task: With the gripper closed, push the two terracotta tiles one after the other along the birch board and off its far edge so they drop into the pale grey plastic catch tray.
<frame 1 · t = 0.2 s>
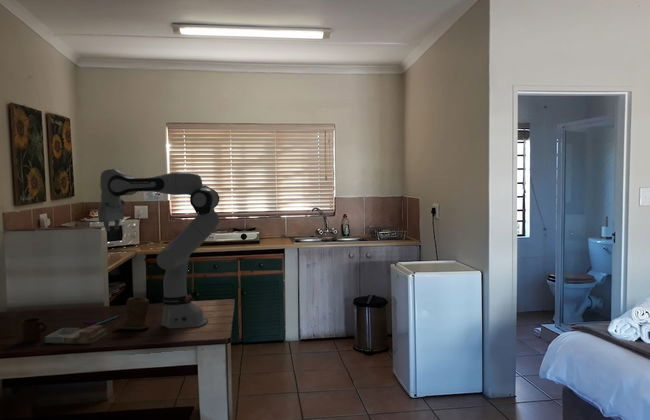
hand: (112, 230, 253), 47 cm above the table, tool pointing down, fingers open, 8 cm apart
tile 2: (87, 335, 229), point 2 cm above the table, touching board
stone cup: (134, 328, 248), on the table
board: (86, 338, 232), on the table
tile 1: (94, 331, 235), point 2 cm above the table, touching board
tray: (62, 338, 233), on the table
mug: (36, 341, 231), on the table
squeegee: (91, 326, 257), on the table
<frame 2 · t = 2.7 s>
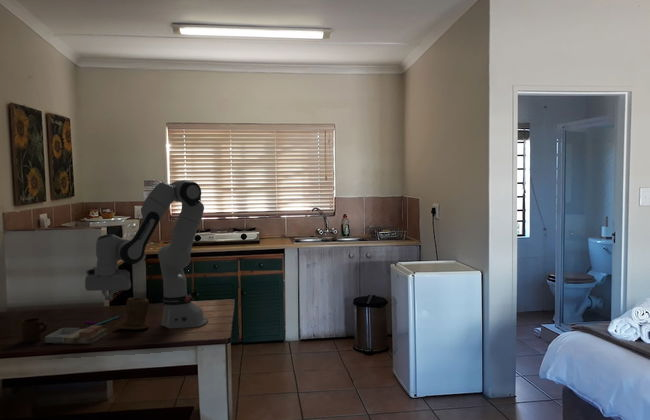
hand: (108, 299, 234), 17 cm above the table, tool pointing down, fingers closed
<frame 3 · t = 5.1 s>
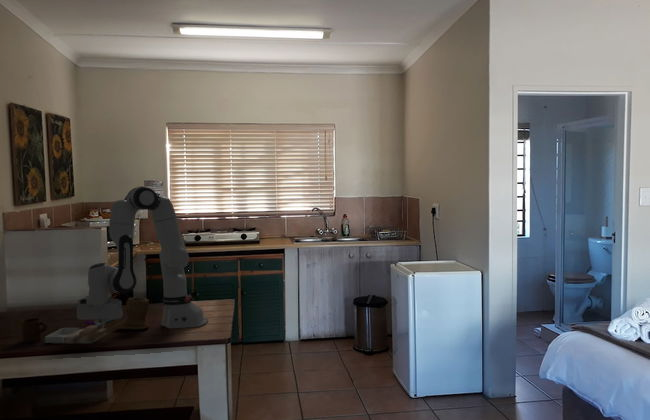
hand: (100, 328, 235), 4 cm above the table, tool pointing down, fingers closed
tile 1: (92, 331, 235), point 3 cm above the table, touching gripper
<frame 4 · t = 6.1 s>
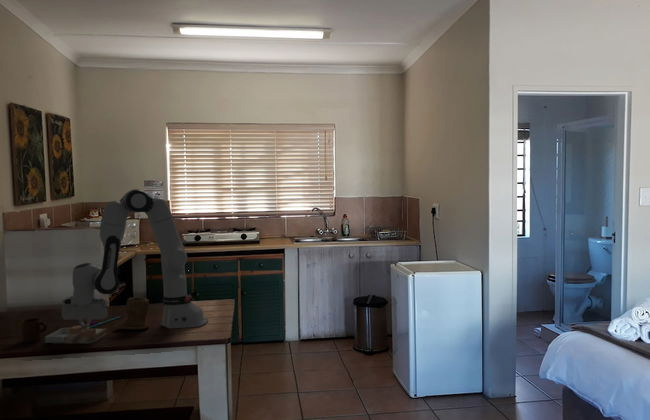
hand: (85, 328, 235), 4 cm above the table, tool pointing down, fingers closed
tile 1: (77, 331, 236), point 2 cm above the table, touching board, gripper
everything else where it was.
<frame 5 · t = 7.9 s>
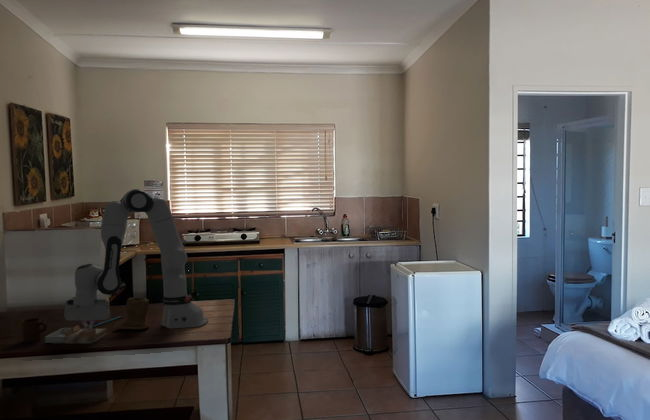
hand: (88, 329, 236), 3 cm above the table, tool pointing down, fingers closed
tile 1: (73, 332, 236), point 2 cm above the table, tilted 29°, touching board, tray
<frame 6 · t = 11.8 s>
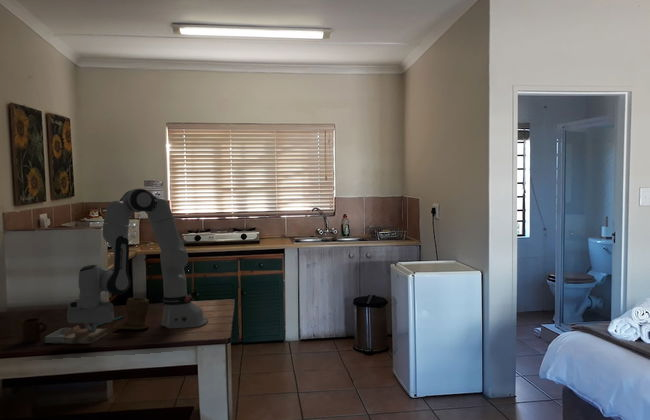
hand: (91, 332, 229), 4 cm above the table, tool pointing down, fingers closed
tile 2: (83, 335, 229), point 3 cm above the table, touching gripper
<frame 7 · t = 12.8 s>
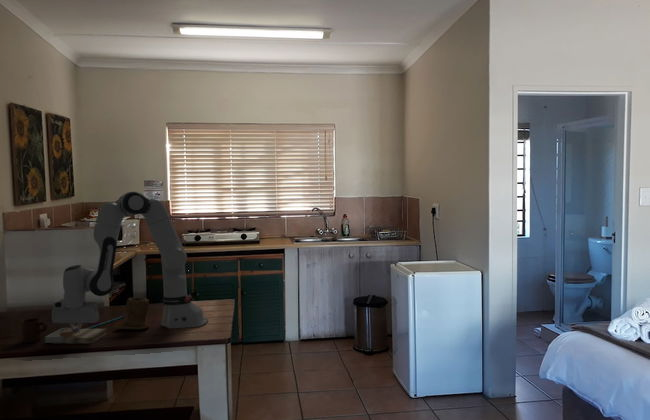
hand: (76, 332, 229), 4 cm above the table, tool pointing down, fingers closed
tile 2: (68, 335, 230), point 2 cm above the table, touching board, gripper
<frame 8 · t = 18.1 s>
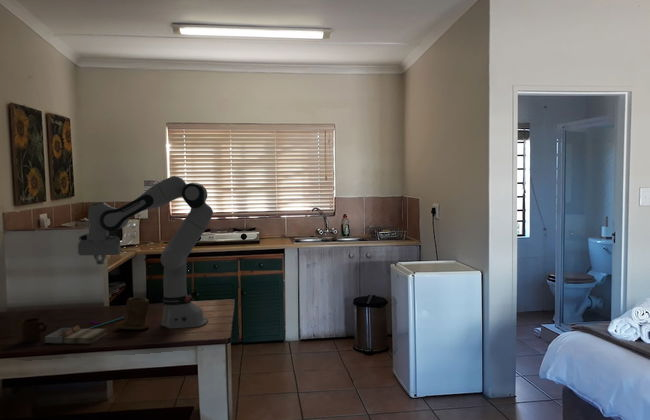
hand: (100, 264, 250), 31 cm above the table, tool pointing down, fingers closed
tile 2: (65, 336, 230), point 2 cm above the table, tilted 28°, touching board, tray
at the end: tile 1 inside the target area on the tray (4.5 cm from its centre), point 1.8 cm above the tray's base; tile 2 inside the target area on the tray (4.1 cm from its centre), point 1.8 cm above the tray's base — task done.
